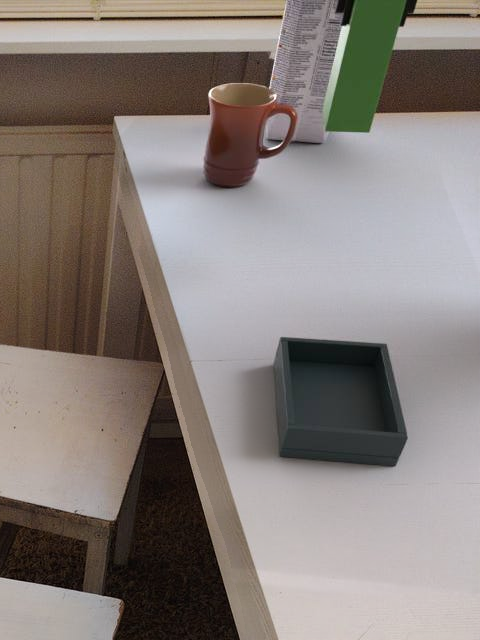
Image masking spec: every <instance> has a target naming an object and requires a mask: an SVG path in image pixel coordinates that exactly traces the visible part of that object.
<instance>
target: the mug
mask: <svg viewBox="0 0 480 640" xmlns="http://www.w3.org/2000/svg"><path fill="white" fill-rule="evenodd" d="M276 100H277V94H276V93H275V92H274V91H273V90H271V89H269V87H267V86H264V85H260V84H255V83H247V82H237V83H236V82H231V83H225V84H221V85H217V86H215V87H213V88H211V89H210V90H209V92H208V104H209V127H208V131H207V132H208V133H207V137H206V144H205V149H204V156H203V158H202V159H203V164H202V168H203V177H205V179H206V180H207V181H208V182H210V183H211V184H213V185H216V186H219V187H224V188H225V187H226V188H234V187H235V188H236V187H241V186H244V185H246V184H248V183H250V182H251V181H252V180H253V179H254V177H255V174H256V172H257V170H258V166H259V164H260V160H265V159H270V158H273V157H275V156H278V155H280V154H281V153H282V152H284V151H285V150H286V149H287V147H288V146H289V145H290V143H291V142H292V141H291V140H292V138H293V136H294V133H295V130H296V127H297V122H298V115H297V112H296V110H295V109H294V108H293V107H291V106H289V105H284V104H277V103H276ZM276 114H287V115H288V116H289V117H290V126H289V129H288V132H287V135H286V137H285V139H284V140H282V142H280V143H279V144H278V145H276V146H272V147H268V146H265V145H264V135H265V131H266V122H267V120H268V118H270V117H272V116H274V115H276Z"/></svg>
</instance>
